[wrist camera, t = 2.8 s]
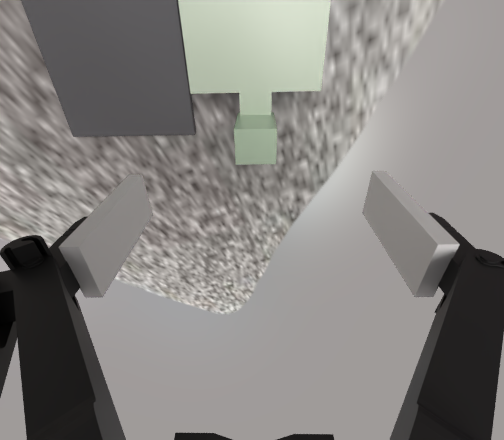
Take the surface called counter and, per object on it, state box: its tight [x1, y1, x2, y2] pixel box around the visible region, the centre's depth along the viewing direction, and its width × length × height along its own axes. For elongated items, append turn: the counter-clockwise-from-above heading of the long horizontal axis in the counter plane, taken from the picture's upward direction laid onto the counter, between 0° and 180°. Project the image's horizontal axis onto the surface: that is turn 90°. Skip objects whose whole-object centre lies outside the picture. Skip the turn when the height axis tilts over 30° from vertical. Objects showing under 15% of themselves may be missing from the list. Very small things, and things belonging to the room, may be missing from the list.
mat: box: [21, 0, 196, 137], centre depth 30 cm, size 16×22×1 cm
